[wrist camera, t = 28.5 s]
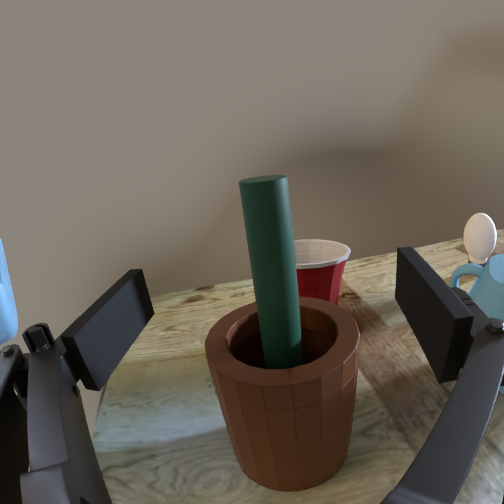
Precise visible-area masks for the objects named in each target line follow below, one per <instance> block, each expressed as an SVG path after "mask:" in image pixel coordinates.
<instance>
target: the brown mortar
mask: <svg viewBox="0 0 504 504" xmlns="http://www.w3.org/2000/svg"><path fill="white" fill-rule="evenodd" d="M299 309H300V323H301V338H302V354H303V365H301V366H297V367H293V368H289V369H271V370H267V369H266V367H265V360H264V353H263V346H262V339H261V332H260V326H259V319H258V312H257V305H256V302H253V303H251V304H248V305H245V306H243V307H240V308H238V309H235V310H234V311H232V312H230V313H229V314H227V315H225V316H224V317H222V318H221V319H220V320H219V321H218V322H217V323H216V324H215V325H214V326H213V327H212V328H211V329H210V331H209V333H208V336H207V338H206V340H205V350H206V357H207V361H208V365H209V368H210V372H211V376H212V379H213V383H214V386H215V390H216V393H217V397H218V400H219V403H220V407H221V410H222V413H223V417H224V420H225V423H226V426H227V430H228V433H229V436H230V439H231V442H232V445H233V448H234V451H235V454H236V457H237V460H238V462H239V464H240V466H241V468H242V470H243V471H244V473H245V474H246V475H247V476H248V477H249V478H250V479H252V480H253V481H254V482H256V483H258V484H259V485H261V486H264V487H266V488H269V489H273V490H278V491H299V490H305V489H308V488H312V487H315V486H317V485H319V484H321V483H323V482H325V481H326V480H328V479H329V478H330V477H332V476H333V475H334V474H335V473H336V472H337V471H338V470H339V469H340V467H341V466H342V464H343V463H344V461H345V458H346V456H347V452H348V447H349V443H350V436H351V429H352V421H353V413H354V404H355V395H356V385H357V373H358V361H359V345H360V332H359V329H358V325H357V322H356V320H355V319H354V318H353V317H352V316H351V315H350V314H349V313H348V312H347V311H346V310H345V309H343V308H341V307H340V306H338V305H336V304H334V303H331V302H328V301H324V300H320V299H316V298H310V297H299Z"/></svg>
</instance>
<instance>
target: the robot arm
mask: <svg viewBox="0 0 504 504" xmlns="http://www.w3.org/2000/svg"><path fill="white" fill-rule="evenodd" d="M395 299H396V301H397V302H398V304H399V306H400V308H401V310H402V311H403V313H404V315H405V317H406V319H407V321H408V323H409V324H410V326H411V328H412V330H413V332H414V334H415V336H416V338H417V340H418V342H419V344H420V345H421V347H422V349H423V351H424V353H425V355H426V357H427V359H428V361H429V364H430V366H431V368H432V370H433V372H434V374H435V376H436V378H437V380H438V382H439V384H440V383H445V382H449V381H453V380H457V378H458V375H459V371H460V368H462V371H461V373H460V375H459V378H458V380H457V382H456V384H455V386H454V389H453V391H452V393H451V395H450V397H449V399H448V401H447V403H446V405H445V407H444V409H443V411H442V413H441V415H440V417H439V418H438V420H437V422H436V424H435V426H434V428H433V429H432V431H431V433H430V435H429V436H428V438H427V440H426V442H425V443H424V445H423V447H422V448H421V450H420V451H419V453H418V455H417V456H416V458H415V459H414V461H413V462H412V464H411V466H410V467H409V469H408V470H407V472H406V473H405V474H404V476H403V477H402V479H401V480H400V482H399V483H398V484H397V486H396V487H395V488H394V489H393V490H392V491H390V492H389V493H388V495H387V496H386V497H385V498H384V499H383V501H382V502H381V503H380V504H453V502H454V500H455V498H456V496H457V495H458V493H459V491H460V489H461V487H462V485H463V483H464V481H465V479H466V477H467V474H468V472H469V470H470V468H471V466H472V463H473V461H474V459H475V457H476V454H477V452H478V449H479V447H480V444H481V442H482V439H483V437H484V434H485V431H486V429H487V426H488V423H489V420H490V417H491V414H492V411H493V408H494V405H495V402H496V398H497V395H498V392H499V388H500V386H504V320H501V319H498V318H489V317H488V316H487V315H486V314H485V313H484V311H483V310H482V309H481V308H480V307H479V306H478V305H477V304H476V302H475V301H474V300H473V299H471V297H470V296H469V295H468V294H467V293H466V292H465V291H463V290H462V289H460V288H458V287H452V288H450V287H449V286H448V285H447V284H446V283H445V282H444V280H443V279H442V278H441V277H440V276H439V275H438V274H437V273H436V272H435V271H434V270H433V269H432V267H431V266H430V265H429V264H428V263H427V262H426V261H425V260H424V259H423V258H422V257H421V256H420V255H419V254H418V253H417V252H416V251H415V250H414V249H413V248H412V247H401V248H397V271H396V290H395ZM153 315H154V310H153V307H152V303H151V300H150V296H149V293H148V289H147V286H146V282H145V279H144V275H143V271H142V269H132V270H129V271H128V272H127V273H126V274H125V275H124V276H123V277H122V278H121V279H119V280H118V281H117V282H116V283H115V284H114V285H113V286H112V287H110V289H108V290H107V291H106V292H105V293H104V294H103V295H102V296H101V297H100V298H99V299H98V300H97V301H96V302H94V303H93V304H92V305H91V306H90V307H89V308H88V309H87V310H86V311H85V312H84V313H83V314H82V315H81V316H79V317H78V318H77V319H76V320H75V321H74V322H73V323H72V324H71V325H70V326H69V327H68V328H67V329H66V330H65V331H64V332H63V333H62V334H61V335H60V336H59V337H58V338H57V339H56V340H54V338H53V336H52V334H51V331H50V329H49V327H48V325H47V324H46V323H39V324H35V325H33V326H31V327H29V328H28V329H26V330H25V332H23V335H22V336H23V338H24V340H25V343H26V345H27V347H28V349H29V351H30V353H25V354H23V353H22V351H21V349H20V347H19V345H16V344H14V345H8V346H6V347H4V348H3V349H2V350H1V351H0V504H112V502H111V499H110V496H109V494H108V491H107V488H106V485H105V482H104V480H103V477H102V474H101V471H100V467H99V464H98V461H97V458H96V455H95V451H94V448H93V444H92V441H91V437H90V434H89V429H88V426H87V422H86V417H85V413H84V409H83V404H82V399H81V395H80V390H79V388H78V386H77V385H76V383H77V382H78V381H79V379H81V381H82V383H83V385H84V386H85V388H86V389H89V390H94V391H100V390H101V388H102V387H103V385H104V384H105V382H106V381H107V380H108V378H109V377H110V375H111V374H112V372H113V371H114V369H115V368H116V367H117V365H118V364H119V362H120V361H121V359H122V358H123V357H124V355H125V354H126V352H127V351H128V350H129V348H130V347H131V345H132V344H133V343H134V341H135V340H136V338H137V337H138V336H139V334H140V333H141V331H142V330H143V329H144V327H145V326H146V324H147V323H148V322H149V320H150V319H151V318H152V316H153ZM17 331H18V317H17V311H16V306H15V301H14V296H13V291H12V286H11V282H10V277H9V272H8V268H7V263H6V258H5V254H4V250H3V246H2V242H1V239H0V345H2V344H4V343H6V342H8V341H10V340H12V338H13V337H14V336H15V335H16V333H17ZM14 389H15V390H16V392H17V396H16V394H15V392H14ZM29 465H30V472H28V468H29ZM502 504H504V495H503V502H502Z"/></svg>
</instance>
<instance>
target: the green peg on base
mask: <svg viewBox="0 0 504 504" xmlns="http://www.w3.org/2000/svg"><path fill="white" fill-rule="evenodd" d="M239 186H240V194H241V201H242V208H243V215H244V222H245V229H246V236H247V242H248V249H249V257H250V263H251V270H252V277H253V284H254V291H255V298H256V305H257V312H258V319H259V326H260V332H261V339H262V346H263V353H264V360H265V367H266V369H267V370H271V369H289V368H293V367H297V366H301V365H303V354H302V338H301V323H300V309H299V296H298V284H297V272H296V261H295V250H294V239H293V229H292V219H291V210H290V200H289V191H288V182H287V176H285V175H268V176H260V177H253V178H248V179H244V180H241V181H239Z"/></svg>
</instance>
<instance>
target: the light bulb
mask: <svg viewBox="0 0 504 504" xmlns="http://www.w3.org/2000/svg"><path fill="white" fill-rule="evenodd" d="M495 243H496V228H495V225H494V223H493V221H492V219H491V218H490V217H489V216H488V215H486V214H483V213H477V214H475V215H473V216H472V217H471V218H470V219H469V220H468V222H467V224H466V226H465V230H464V245H465V248H466V250H467V252H468V254H469V259H468V263H475V264H478V265H480V266H482V267H485V266H486V264H487V263H488V260H487V257H488V256H489V255H490V254H491V253H492V251H493V249H494V247H495Z"/></svg>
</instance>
